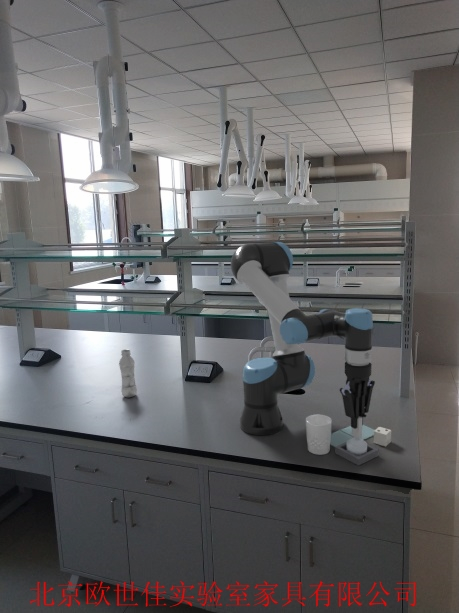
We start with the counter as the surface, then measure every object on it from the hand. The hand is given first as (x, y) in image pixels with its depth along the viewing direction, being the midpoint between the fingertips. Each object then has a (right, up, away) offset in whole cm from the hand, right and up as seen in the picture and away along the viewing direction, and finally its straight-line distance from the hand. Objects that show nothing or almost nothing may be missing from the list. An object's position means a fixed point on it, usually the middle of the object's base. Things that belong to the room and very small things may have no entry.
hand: (356, 436), depth 134 cm
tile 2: (+5, -3, +15) cm, 16 cm away
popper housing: (0, -6, +1) cm, 6 cm away
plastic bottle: (-81, +1, +54) cm, 97 cm away
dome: (0, -5, +1) cm, 5 cm away
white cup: (-11, -6, +5) cm, 13 cm away
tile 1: (-3, -4, +10) cm, 11 cm away
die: (+10, -4, +7) cm, 13 cm away
